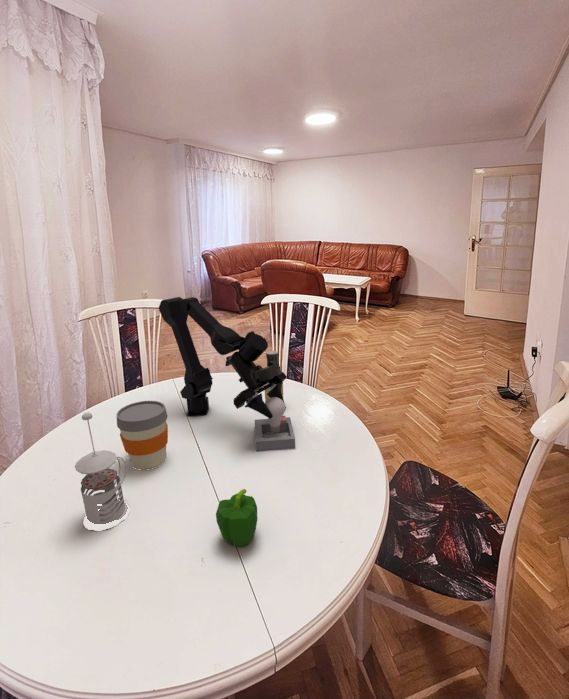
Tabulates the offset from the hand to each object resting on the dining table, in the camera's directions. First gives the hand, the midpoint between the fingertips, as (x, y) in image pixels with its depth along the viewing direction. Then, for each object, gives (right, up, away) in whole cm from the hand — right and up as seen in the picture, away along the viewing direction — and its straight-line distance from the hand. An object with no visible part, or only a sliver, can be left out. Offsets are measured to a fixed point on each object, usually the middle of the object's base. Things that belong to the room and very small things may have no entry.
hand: (278, 413), depth 113 cm
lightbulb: (-1, -6, +3) cm, 7 cm away
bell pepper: (-7, -20, -32) cm, 39 cm away
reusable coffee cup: (-35, -12, -5) cm, 37 cm away
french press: (-37, -18, -24) cm, 48 cm away
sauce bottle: (-2, -2, +23) cm, 24 cm away
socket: (-1, -8, +4) cm, 9 cm away
